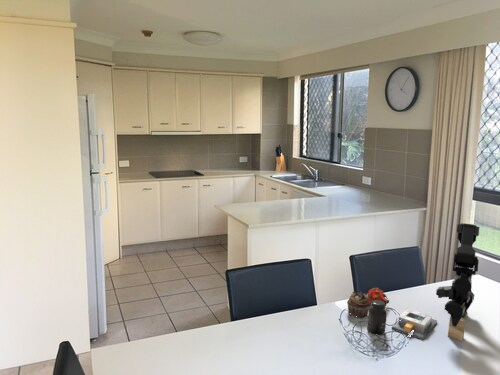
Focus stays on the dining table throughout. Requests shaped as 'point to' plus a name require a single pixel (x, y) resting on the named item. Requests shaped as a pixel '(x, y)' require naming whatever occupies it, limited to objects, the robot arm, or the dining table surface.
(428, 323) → the grey slotted plate
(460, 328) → the oak wedge
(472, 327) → the dining table surface
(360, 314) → the cupcake
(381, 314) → the supplement bottle
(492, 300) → the dining table surface
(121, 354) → the dining table surface
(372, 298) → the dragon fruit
